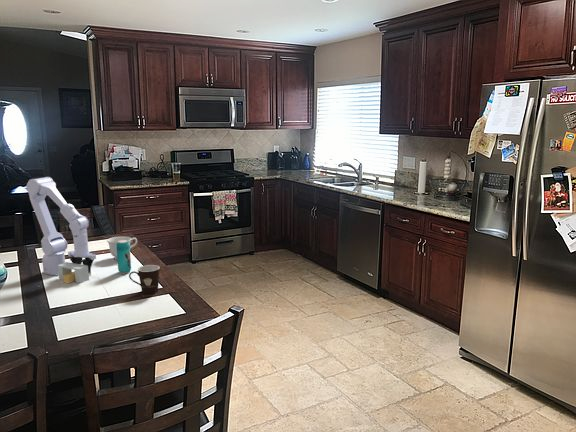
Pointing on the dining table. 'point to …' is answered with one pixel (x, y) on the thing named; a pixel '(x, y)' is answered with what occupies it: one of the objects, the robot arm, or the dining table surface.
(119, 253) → the beverage can
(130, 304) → the dining table surface
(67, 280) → the plug
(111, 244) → the teacup
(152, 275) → the coffee mug
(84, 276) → the housing
